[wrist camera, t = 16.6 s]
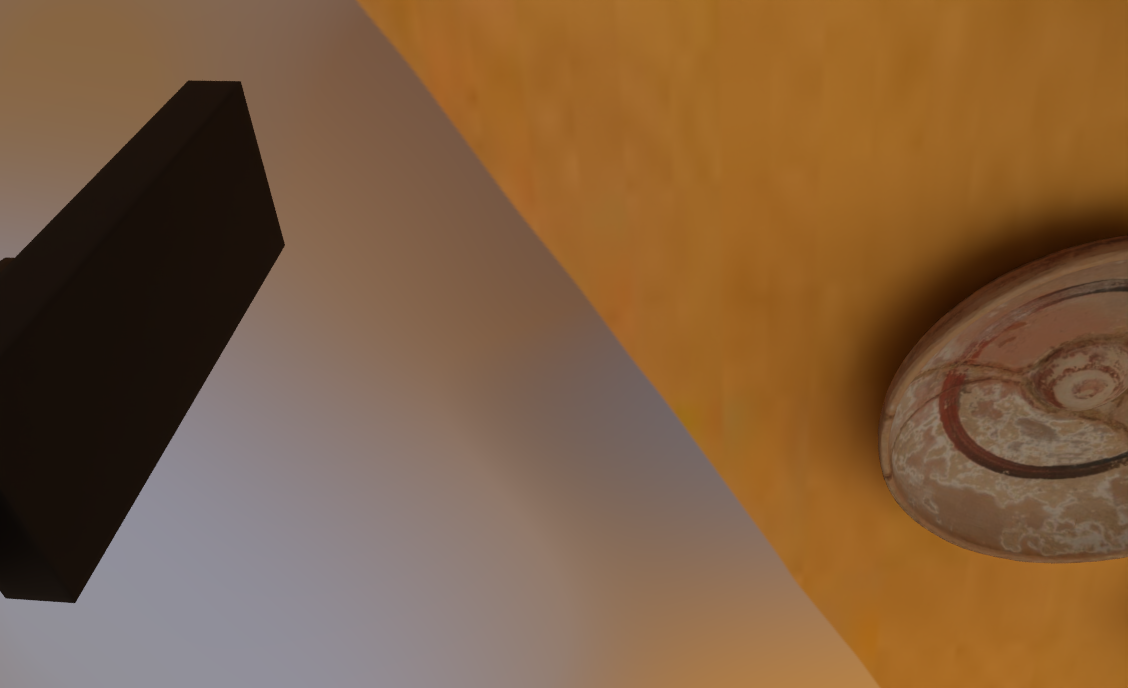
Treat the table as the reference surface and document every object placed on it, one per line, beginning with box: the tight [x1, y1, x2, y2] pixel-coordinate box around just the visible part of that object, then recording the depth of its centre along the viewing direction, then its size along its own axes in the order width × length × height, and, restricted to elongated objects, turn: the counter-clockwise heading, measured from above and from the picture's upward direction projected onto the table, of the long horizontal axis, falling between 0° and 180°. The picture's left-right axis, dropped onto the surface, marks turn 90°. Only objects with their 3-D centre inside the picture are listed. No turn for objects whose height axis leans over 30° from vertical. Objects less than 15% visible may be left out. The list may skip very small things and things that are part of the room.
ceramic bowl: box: [878, 235, 1128, 563], centre depth 49 cm, size 23×24×5 cm
